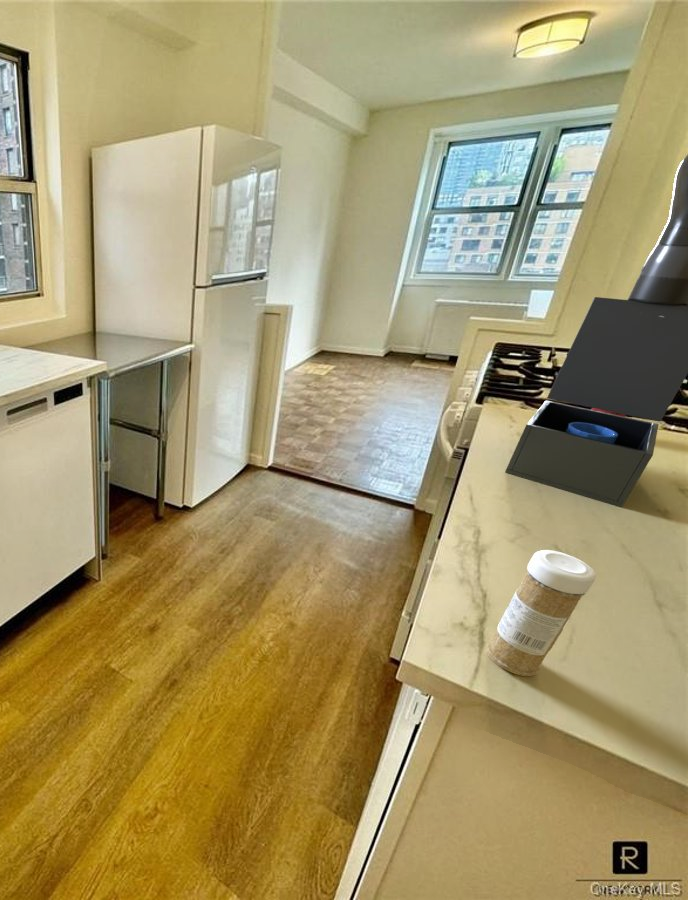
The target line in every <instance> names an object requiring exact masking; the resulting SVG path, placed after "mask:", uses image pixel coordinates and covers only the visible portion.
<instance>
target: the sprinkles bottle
mask: <svg viewBox="0 0 688 900" xmlns="http://www.w3.org/2000/svg"><path fill="white" fill-rule="evenodd" d="M526 567H527V569H526V574H525V575H524V576H523V578H522V581H521V583H520V585H519V586H518V588H516V591H515V592H514V594H513V595H512V598H511V600H510V602H509V604H508V606H507V607H506V609H505V611H504V613H503V614H502V616H501V619H500V621H499V623H498V625H497V628H496V630H495V631H494V633H493V634H492V637H491V640H490V641H489V642H487V644H486V646H485V651H486V654H487V655H488V657H489V658H490V659H491V660H492V662H493V663H495V664H496V665H497V666H499V667H500V668H501V669H503V670H506V671H507V672H510V673H512V674H515V675H518V676H520V677H521V676H522V677H532V676H536V675H537V674H538V672H539V671H540V666H541V665H542V664H543V661H544V660H545V658H546V657H547V655H548V653H549V652H550V651H551V650H552V649H553V647H554V646H555V644H556V642H557V641H558V639H559V637H560V635H561V634H562V633H563V631H564V627H565V625H566V624H567V623H568V620H569V619H570V617H571V615H572V614H573V612H574V610H575V609H576V607H577V605H578V603H579V601H580V600H581V598H582V597H583V596H585V595H586V593H588V592H589V591H590V589H591V587H592V586H593V584H594V582H595V580H596V577H597V574H596V572H595V570H594V569H593V568H592V566H590V565H588V564H587V563H586V562H584V561H583V560H581V559H579V558H577V557H575V556H573V555H571V554H567V553H564V552H561V551H557V550H550V549H542V550H537V551H536V552H535V553H534V554H533V555H532V557H531V558H530V560H529V561H528V563H527V566H526Z"/></svg>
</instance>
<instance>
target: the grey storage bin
mask: <svg viewBox="0 0 688 900" xmlns="http://www.w3.org/2000/svg"><path fill="white" fill-rule="evenodd" d="M572 422H582V423H589V424H595V425H599V426H602V427H605V428H608V429H611V430H613V431H615V432H616V433H617V434H618V436H617V438H616V440H615V442H614V444H611V443H607V442H603V441H599V440H595V439H591V438H586V437H582V436H578V435H574V434H570V433H565V430H566V428H567V426H568V424H569V423H572ZM658 430H659V423H656V422H652V421H647V420H641V419H637V418H632V417H627V416H625V417H623V416H618V415H613V414H609V413H604V412H599V411H594V410H591V408H590V409H589V408H584V407H579V406H575V405H569V404H566V403H560V402H555V401H550V400H545V401H544V402H543V404H542V405H541V406H540V407H539V409H538V410H536V412H535V414H533V416H532V417H531V418H530V420H528V422H527V423H526V425H525V427H524V429H523V431H522V433H521V435H520V437H519V439H518V442H517V444H516V447H515V449H514V451H513V453H512V456H511V457H510V460H509V462H508V464H507V467H506V469H505V471H504V473H505V474H508V475H509V474H510V475H512V476H515V477H519V478H522V479H526V480H529V481H533V482H536V483H539V484H542V485H547V486H549V487H553V488H556V489H558V490H559V489H560V490H562V491H566V492H570V493H572V494H576V495H579V496H582V497H587V498H589V499H593V500H596V501H599V502H603V503H606V504H609V505H612V506H616V507H619V508H623V506H624V504H625V503H626V501H627V499H628V497H629V496H630V494H631V493H632V491H633V489H634V488H635V486H636V484H637V482H638V481H639V480H640V478H641V476H642V474H643V473H644V471H645V469H646V467H647V466H648V464H649V463H650V461H651V460H652V457H653V456H654V452H655V446H656V441H657V437H658V436H657V435H658Z"/></svg>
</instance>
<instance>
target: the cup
mask: <svg viewBox="0 0 688 900" xmlns="http://www.w3.org/2000/svg"><path fill="white" fill-rule="evenodd" d="M565 433H570V434H574V435H578V436H582V437H586V438H591V439H595V440H599V441H603V442H607V443H611V444H614V442H615V440H616V438H617V436H618V434H617V433H616V432H615V431H613V430H611V429H608V428H605V427H602V426H599V425H595V424H589V423H582V422H572V423H569V424H568V426H567V428H566V430H565Z"/></svg>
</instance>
